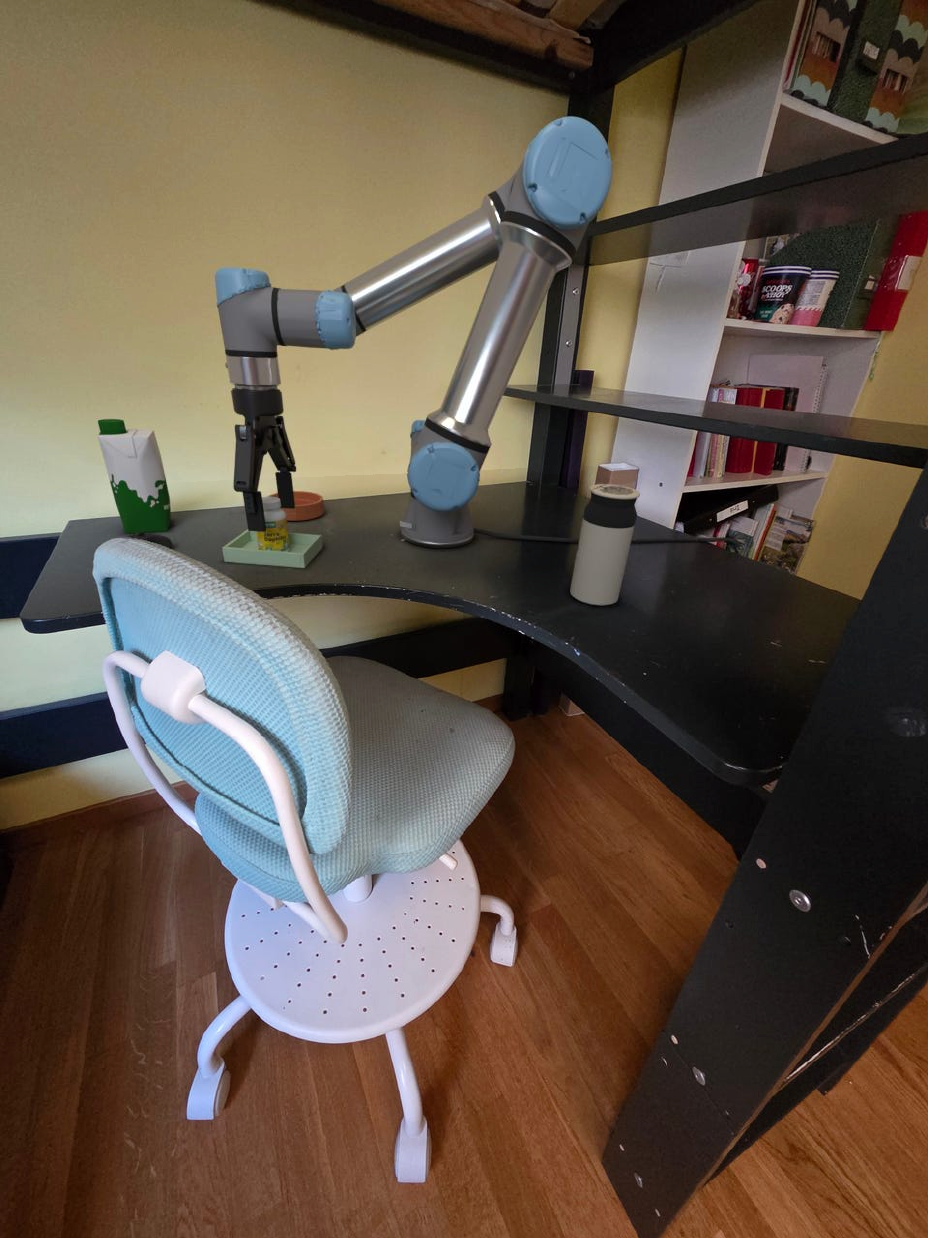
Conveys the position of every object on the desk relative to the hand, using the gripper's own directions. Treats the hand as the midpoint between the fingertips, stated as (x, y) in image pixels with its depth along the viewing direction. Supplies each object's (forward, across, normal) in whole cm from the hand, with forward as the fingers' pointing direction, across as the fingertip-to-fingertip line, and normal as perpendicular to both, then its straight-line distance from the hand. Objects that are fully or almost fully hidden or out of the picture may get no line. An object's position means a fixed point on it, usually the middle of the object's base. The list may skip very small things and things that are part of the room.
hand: (273, 518), depth 90 cm
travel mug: (+8, +7, +57) cm, 58 cm away
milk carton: (+7, -9, -29) cm, 31 cm away
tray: (+7, 0, 0) cm, 7 cm away
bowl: (+7, -25, -5) cm, 26 cm away
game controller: (+7, +5, -22) cm, 24 cm away
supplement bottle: (+6, 0, 0) cm, 6 cm away
